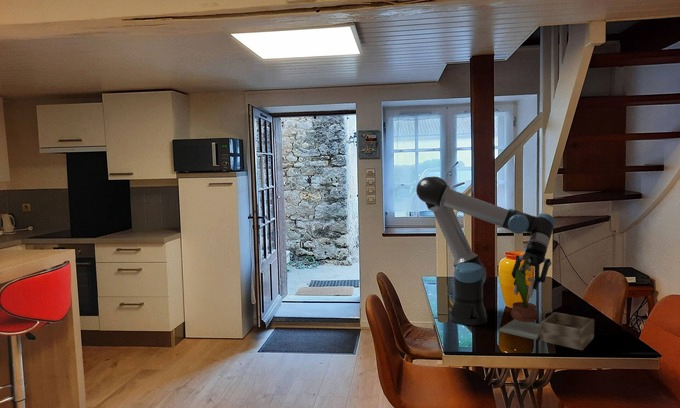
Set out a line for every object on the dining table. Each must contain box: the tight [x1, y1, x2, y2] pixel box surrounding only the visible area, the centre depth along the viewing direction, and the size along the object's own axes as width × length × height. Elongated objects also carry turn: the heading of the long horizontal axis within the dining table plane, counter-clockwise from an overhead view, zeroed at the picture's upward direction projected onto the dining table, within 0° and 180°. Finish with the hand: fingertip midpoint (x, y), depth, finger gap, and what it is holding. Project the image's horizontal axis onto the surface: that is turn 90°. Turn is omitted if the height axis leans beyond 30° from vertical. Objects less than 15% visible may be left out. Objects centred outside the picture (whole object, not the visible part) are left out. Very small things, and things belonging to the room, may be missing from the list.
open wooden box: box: [539, 311, 595, 351], centre depth 162 cm, size 14×16×7 cm
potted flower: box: [510, 256, 539, 323], centre depth 172 cm, size 12×10×25 cm
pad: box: [498, 318, 541, 341], centre depth 173 cm, size 14×16×1 cm
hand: (522, 294), depth 169 cm, fingers closed on potted flower, 5 cm apart
